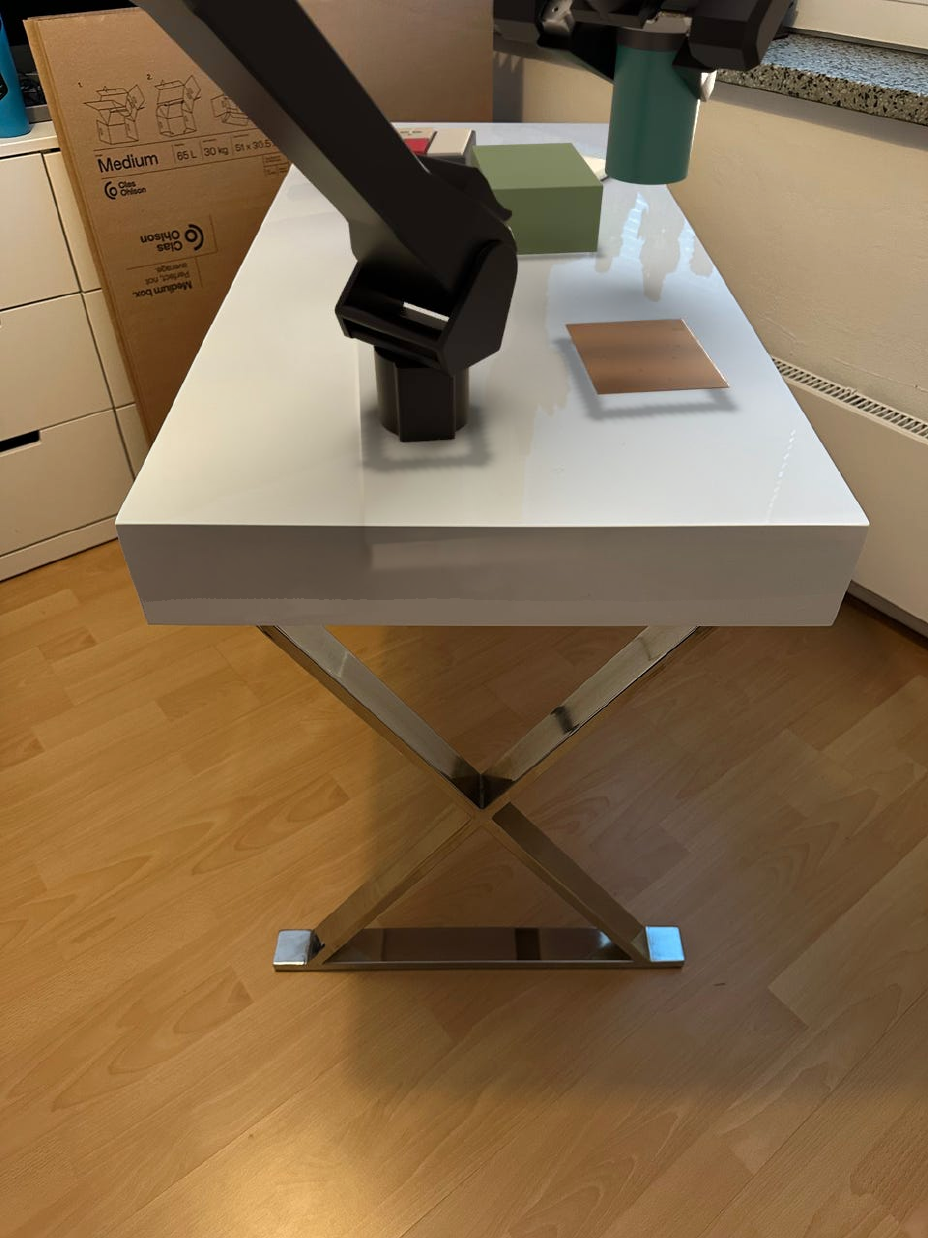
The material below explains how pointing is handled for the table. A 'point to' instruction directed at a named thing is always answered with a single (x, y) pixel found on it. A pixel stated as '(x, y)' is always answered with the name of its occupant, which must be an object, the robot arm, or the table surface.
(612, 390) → the low shelf
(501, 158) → the olive green cuboid
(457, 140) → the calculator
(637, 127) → the lunch canister
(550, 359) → the table surface
